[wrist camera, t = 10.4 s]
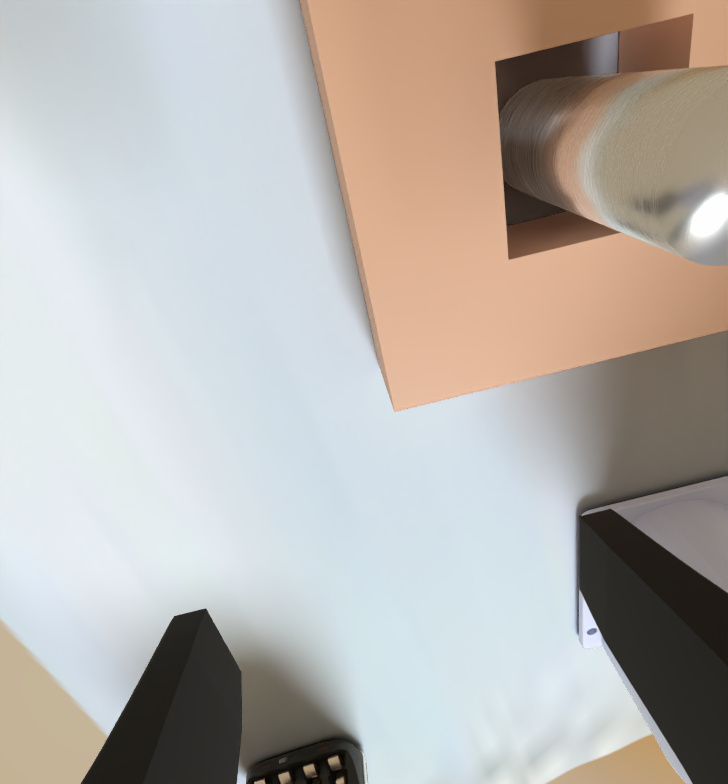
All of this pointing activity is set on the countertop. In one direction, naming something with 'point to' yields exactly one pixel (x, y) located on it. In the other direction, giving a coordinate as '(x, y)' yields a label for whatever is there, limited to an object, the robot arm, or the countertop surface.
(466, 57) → the hole block
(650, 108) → the steel peg
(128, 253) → the countertop surface
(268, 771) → the battery charger
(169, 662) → the robot arm
